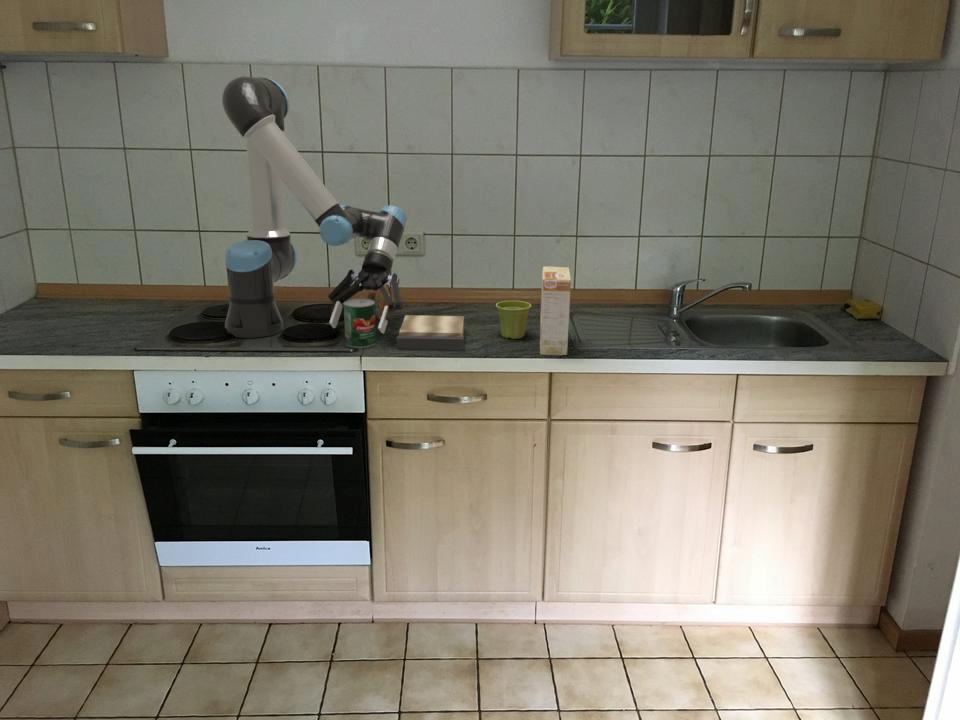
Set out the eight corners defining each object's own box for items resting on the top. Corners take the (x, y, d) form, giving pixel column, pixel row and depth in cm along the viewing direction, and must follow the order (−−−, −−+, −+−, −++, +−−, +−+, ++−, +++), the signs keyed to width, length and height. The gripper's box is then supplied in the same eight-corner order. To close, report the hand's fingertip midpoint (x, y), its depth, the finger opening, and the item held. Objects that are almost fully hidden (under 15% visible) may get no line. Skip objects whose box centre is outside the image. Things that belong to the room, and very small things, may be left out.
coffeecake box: (539, 337, 209) (542, 265, 203) (566, 338, 208) (569, 266, 202) (538, 355, 195) (542, 278, 188) (567, 356, 194) (571, 279, 188)
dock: (396, 349, 197) (396, 334, 196) (404, 329, 214) (404, 315, 213) (463, 350, 197) (463, 335, 196) (465, 330, 214) (465, 316, 213)
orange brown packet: (376, 322, 220) (375, 293, 218) (366, 321, 221) (365, 292, 218) (392, 309, 234) (392, 281, 232) (382, 308, 235) (382, 281, 232)
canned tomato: (364, 349, 196) (363, 307, 193) (339, 345, 199) (337, 303, 196) (381, 341, 203) (380, 300, 200) (356, 337, 206) (355, 297, 203)
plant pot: (505, 342, 204) (505, 310, 201) (489, 333, 212) (490, 302, 209) (536, 338, 208) (537, 307, 205) (519, 329, 216) (520, 299, 213)
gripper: (427, 270, 206) (406, 340, 198) (342, 263, 213) (318, 330, 205) (419, 254, 200) (397, 325, 191) (332, 247, 207) (306, 315, 198)
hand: (356, 328), depth 198 cm, fingers open, 13 cm apart
